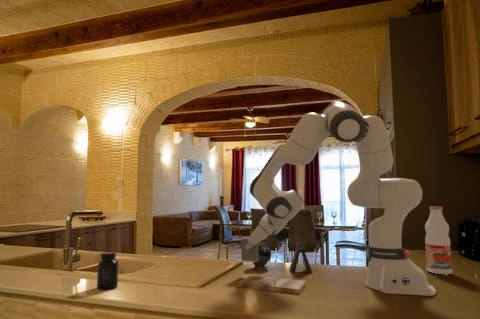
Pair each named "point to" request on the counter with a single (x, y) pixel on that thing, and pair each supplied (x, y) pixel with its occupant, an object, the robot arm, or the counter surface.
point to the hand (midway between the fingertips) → (248, 247)
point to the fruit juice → (437, 243)
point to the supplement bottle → (107, 271)
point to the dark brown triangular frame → (295, 260)
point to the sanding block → (249, 251)
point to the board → (273, 284)
